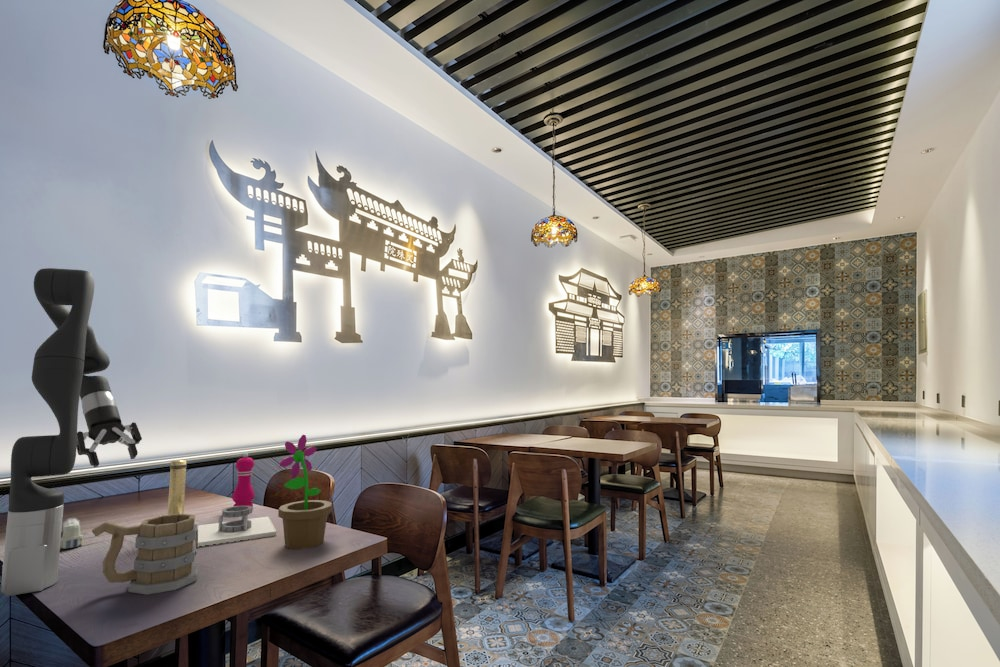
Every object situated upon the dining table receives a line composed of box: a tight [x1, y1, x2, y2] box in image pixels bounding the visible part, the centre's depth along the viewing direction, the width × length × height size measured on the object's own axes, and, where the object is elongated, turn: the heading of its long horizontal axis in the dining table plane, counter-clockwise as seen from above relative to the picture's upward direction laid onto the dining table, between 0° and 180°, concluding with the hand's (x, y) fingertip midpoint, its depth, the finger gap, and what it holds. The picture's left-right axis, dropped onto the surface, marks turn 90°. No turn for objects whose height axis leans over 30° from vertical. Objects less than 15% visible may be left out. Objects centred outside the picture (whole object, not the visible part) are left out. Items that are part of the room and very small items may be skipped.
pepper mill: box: [231, 452, 256, 509], centre depth 181 cm, size 7×7×20 cm
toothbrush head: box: [60, 517, 85, 550], centre depth 145 cm, size 5×7×25 cm
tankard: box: [91, 513, 199, 596], centre depth 111 cm, size 20×13×15 cm, turn 118°
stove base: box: [197, 505, 277, 548], centre depth 151 cm, size 20×20×7 cm
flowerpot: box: [277, 434, 333, 550], centre depth 142 cm, size 14×14×30 cm
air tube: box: [167, 459, 188, 515], centre depth 148 cm, size 4×4×22 cm
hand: (115, 461), depth 137 cm, fingers open, 8 cm apart
